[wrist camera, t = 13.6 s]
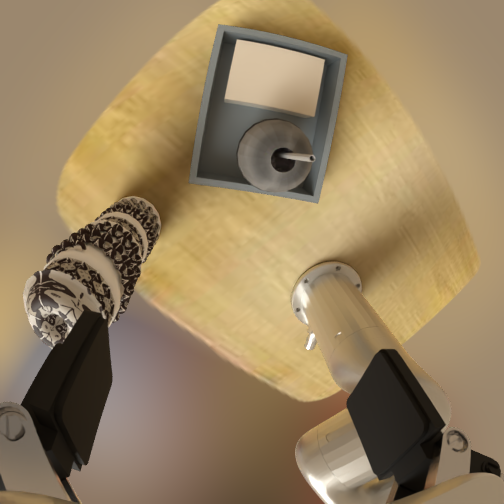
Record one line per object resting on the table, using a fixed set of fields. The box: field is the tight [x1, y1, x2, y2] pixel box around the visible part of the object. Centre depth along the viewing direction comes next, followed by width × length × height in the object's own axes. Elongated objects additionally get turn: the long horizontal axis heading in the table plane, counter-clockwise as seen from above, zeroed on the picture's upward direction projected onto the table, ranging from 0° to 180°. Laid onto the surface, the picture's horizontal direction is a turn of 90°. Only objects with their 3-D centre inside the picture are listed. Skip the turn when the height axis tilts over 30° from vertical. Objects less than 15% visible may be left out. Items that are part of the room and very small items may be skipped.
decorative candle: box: [23, 196, 161, 349], centre depth 29 cm, size 9×9×25 cm
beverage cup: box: [236, 118, 316, 193], centre depth 28 cm, size 7×7×20 cm
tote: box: [189, 24, 348, 203], centre depth 33 cm, size 20×16×6 cm
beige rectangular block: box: [224, 39, 325, 118], centre depth 32 cm, size 8×11×4 cm
